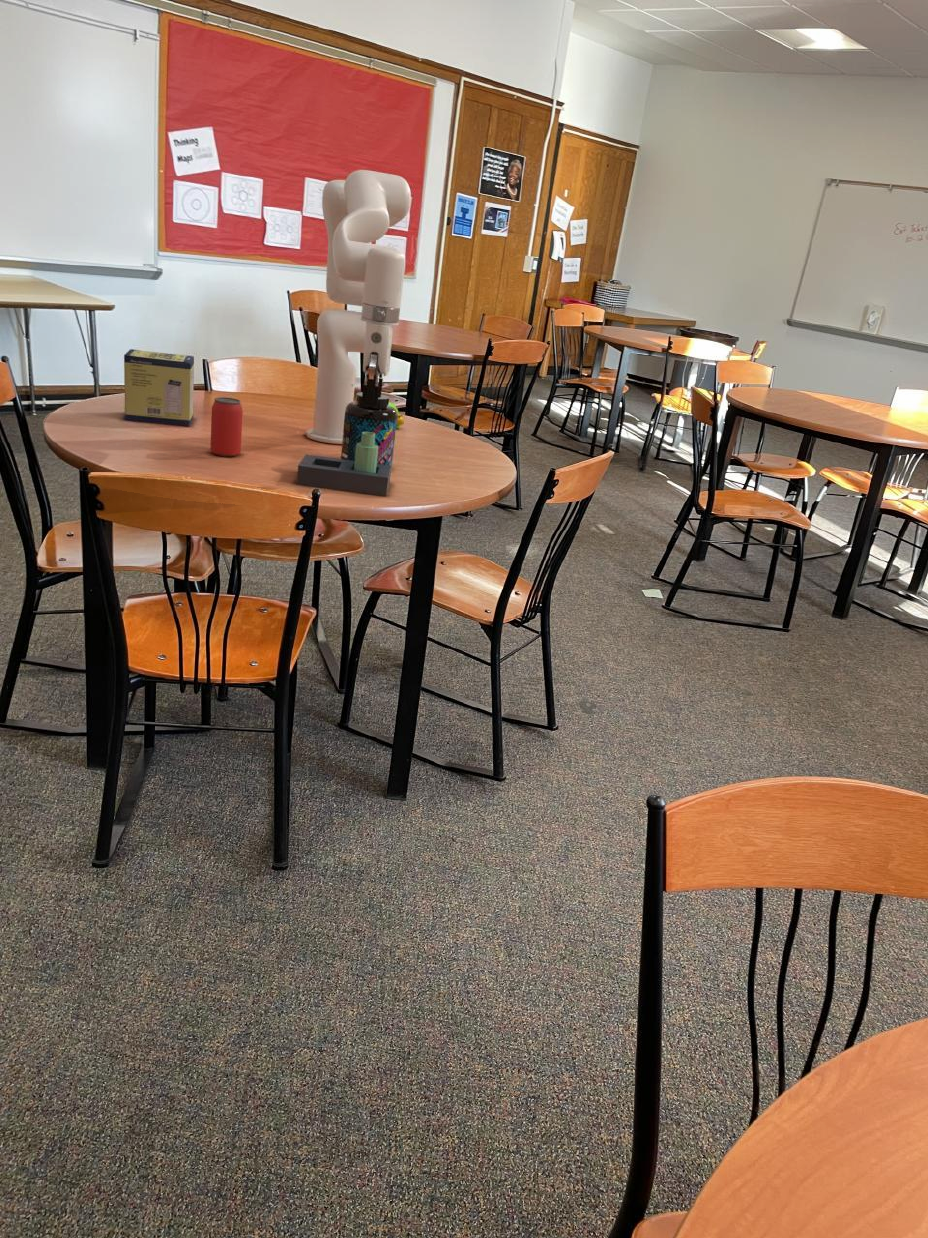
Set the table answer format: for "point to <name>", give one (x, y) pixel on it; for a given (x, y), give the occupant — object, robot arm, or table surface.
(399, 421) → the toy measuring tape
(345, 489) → the hole block
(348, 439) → the container
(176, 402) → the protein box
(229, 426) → the beer can
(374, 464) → the bottle
